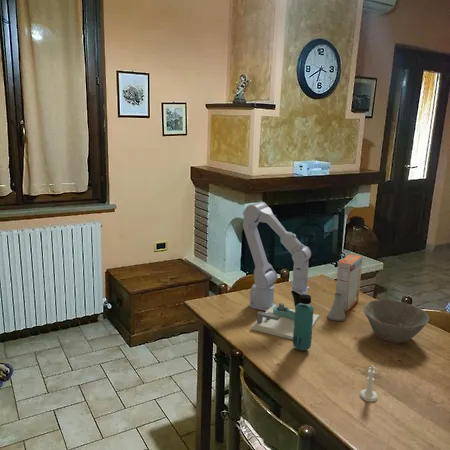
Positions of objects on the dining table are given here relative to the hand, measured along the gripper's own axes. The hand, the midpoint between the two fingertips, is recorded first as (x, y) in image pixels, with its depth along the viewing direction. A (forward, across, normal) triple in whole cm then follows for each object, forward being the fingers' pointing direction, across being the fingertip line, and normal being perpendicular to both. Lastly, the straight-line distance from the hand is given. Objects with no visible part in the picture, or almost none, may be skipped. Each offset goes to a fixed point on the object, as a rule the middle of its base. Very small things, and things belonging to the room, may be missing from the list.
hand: (298, 308), depth 178 cm
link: (+1, -4, +4) cm, 6 cm away
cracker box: (+3, +8, -24) cm, 25 cm away
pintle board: (+3, -6, +7) cm, 10 cm away
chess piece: (+3, -53, -4) cm, 53 cm away
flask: (+3, -3, -15) cm, 16 cm away
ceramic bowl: (+3, -21, -30) cm, 36 cm away
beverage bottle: (+3, -26, +7) cm, 27 cm away
